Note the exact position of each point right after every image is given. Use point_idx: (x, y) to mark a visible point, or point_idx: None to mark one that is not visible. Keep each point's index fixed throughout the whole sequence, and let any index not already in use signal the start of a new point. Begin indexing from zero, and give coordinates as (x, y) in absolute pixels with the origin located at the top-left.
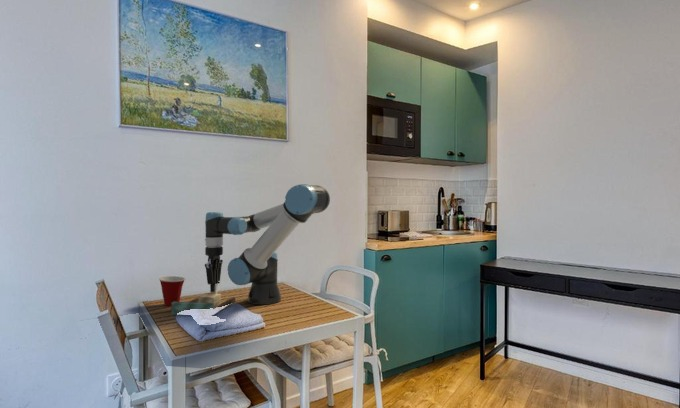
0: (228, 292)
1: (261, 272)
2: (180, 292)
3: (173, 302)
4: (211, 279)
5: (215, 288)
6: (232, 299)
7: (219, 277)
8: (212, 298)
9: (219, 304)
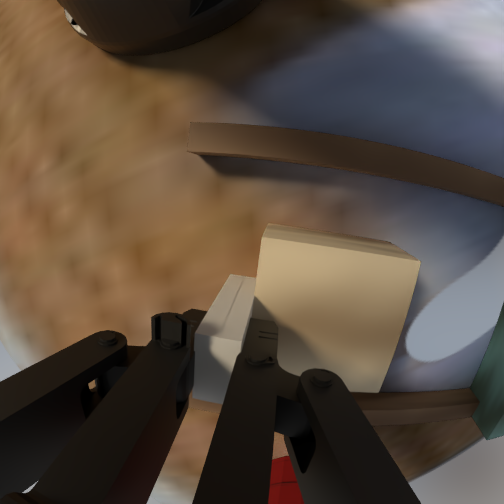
0: (12, 266)
1: None
2: (295, 500)
3: (500, 433)
4: (363, 431)
5: (248, 322)
6: (254, 126)
7: (88, 357)
8: (413, 272)
9: (298, 227)
